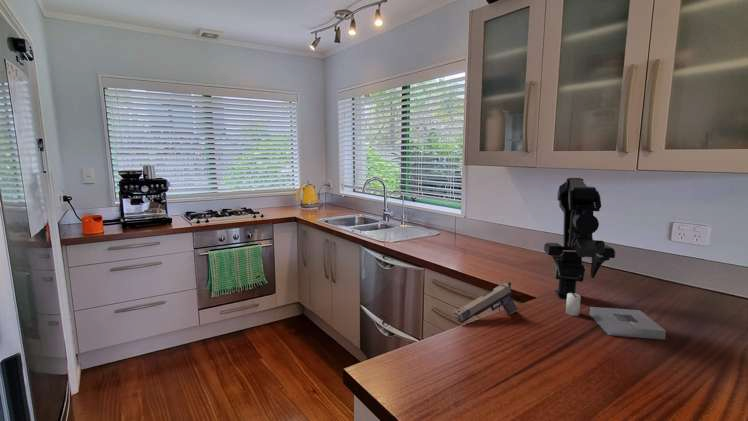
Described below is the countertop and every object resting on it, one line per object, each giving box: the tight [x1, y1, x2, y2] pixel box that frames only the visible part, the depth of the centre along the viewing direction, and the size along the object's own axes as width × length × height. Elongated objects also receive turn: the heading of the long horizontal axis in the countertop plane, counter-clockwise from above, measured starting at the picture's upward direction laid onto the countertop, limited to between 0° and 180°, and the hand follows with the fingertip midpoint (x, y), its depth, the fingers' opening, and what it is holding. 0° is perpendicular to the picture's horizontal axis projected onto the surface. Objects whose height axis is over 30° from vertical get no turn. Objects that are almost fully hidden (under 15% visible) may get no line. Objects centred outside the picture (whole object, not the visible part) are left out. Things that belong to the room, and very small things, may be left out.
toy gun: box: [454, 282, 519, 324], centre depth 116 cm, size 2×21×10 cm, turn 111°
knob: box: [565, 293, 582, 317], centre depth 119 cm, size 4×4×6 cm
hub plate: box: [589, 306, 667, 340], centre depth 110 cm, size 14×14×3 cm
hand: (576, 277), depth 117 cm, fingers open, 9 cm apart
